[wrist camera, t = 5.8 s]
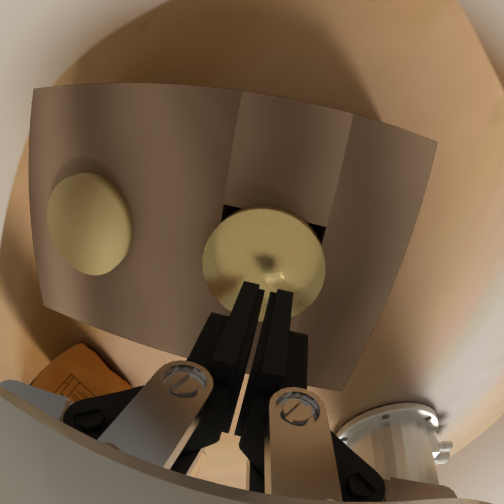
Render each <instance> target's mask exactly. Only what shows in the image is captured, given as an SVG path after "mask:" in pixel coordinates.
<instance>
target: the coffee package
mask: <svg viewBox="0 0 504 504" xmlns="http://www.w3.org/2000/svg"><path fill="white" fill-rule="evenodd" d="M30 386H33V387H36V388H39V389H42V390H45V391H49V392H52V393H55V394H58V395H62V396H65V397H68V398H69V400H70V401H71V402H76V401H79V400H82V399H86V398H91V397H96V396H101V395H106V394H110V393H115V392H119V391H123V390H128V389H132V387H131V386H130V384H129V383H127V382H126V381H124V380H123V379H122V378H120V377H119V376H118V375H117V374H115V373H114V372H112V371H111V370H110V369H109V368H108V367H107V366H106V365H105V364H104V362H103V361H102V360H101V359H100V357H99V356H98V355H97V354H96V353H95V352H94V351H92V350H90V349H89V348H88V347H87V346H85V345H84V344H83V343H79V344H76V345H75V346H73V347H71V348H70V349H68V350H66V351H65V352H63V353H62V354H60V355H59V356H57V357H56V358H55V359H54V360H53V361H52V362H50V363H49V364H48V365H47V366H46V367H45V368H44V369H43V370H42V371H41V372H40V373H39V374H38V376H37V377H36V378H35V379H34V380H33V381H32V382H31V384H30Z"/></svg>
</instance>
